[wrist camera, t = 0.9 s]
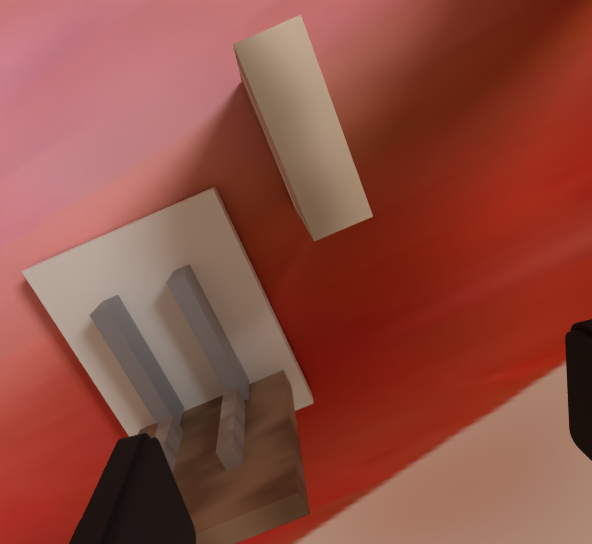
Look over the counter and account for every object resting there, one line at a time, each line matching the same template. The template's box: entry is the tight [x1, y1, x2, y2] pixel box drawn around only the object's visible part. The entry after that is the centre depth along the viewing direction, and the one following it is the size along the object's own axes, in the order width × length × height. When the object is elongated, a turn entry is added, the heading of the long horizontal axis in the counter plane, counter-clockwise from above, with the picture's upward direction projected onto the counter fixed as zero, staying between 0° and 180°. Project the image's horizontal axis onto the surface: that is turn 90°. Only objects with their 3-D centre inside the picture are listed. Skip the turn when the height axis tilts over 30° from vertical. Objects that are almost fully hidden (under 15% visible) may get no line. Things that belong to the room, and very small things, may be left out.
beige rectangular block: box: [233, 15, 373, 241], centre depth 24 cm, size 3×9×11 cm, turn 23°
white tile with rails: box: [22, 187, 314, 437], centre depth 31 cm, size 14×18×4 cm
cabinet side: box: [138, 370, 310, 544], centre depth 27 cm, size 12×3×12 cm, turn 113°
